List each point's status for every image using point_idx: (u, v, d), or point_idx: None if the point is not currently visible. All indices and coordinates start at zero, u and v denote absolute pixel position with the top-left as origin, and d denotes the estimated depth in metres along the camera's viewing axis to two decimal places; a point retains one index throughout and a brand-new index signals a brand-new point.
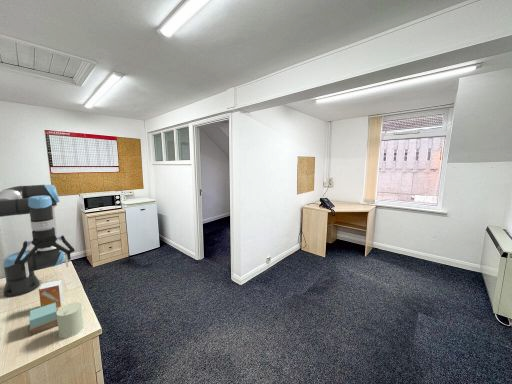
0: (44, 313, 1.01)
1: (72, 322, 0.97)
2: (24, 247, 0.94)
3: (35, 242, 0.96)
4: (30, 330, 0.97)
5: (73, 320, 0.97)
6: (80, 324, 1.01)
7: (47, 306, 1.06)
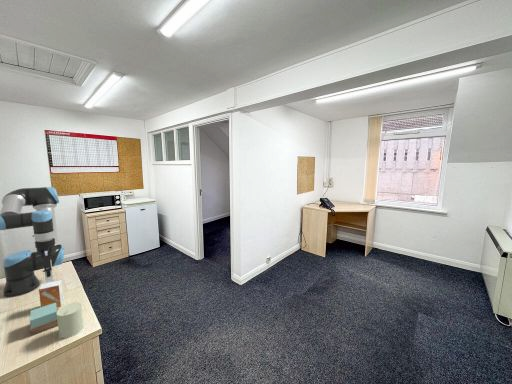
0: (45, 314, 1.01)
1: (72, 322, 0.97)
2: None
3: None
4: (30, 330, 0.97)
5: (73, 320, 0.97)
6: (80, 324, 1.01)
7: (47, 306, 1.06)
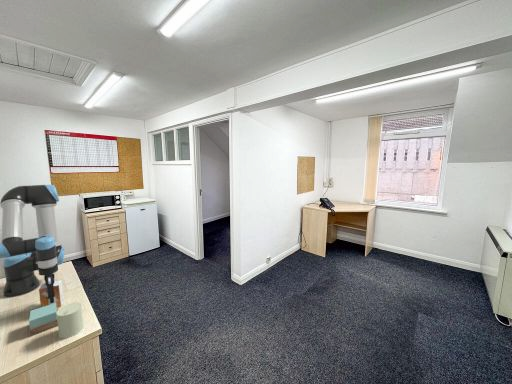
0: (44, 314, 1.01)
1: (72, 322, 0.97)
2: None
3: None
4: (30, 330, 0.97)
5: (73, 320, 0.97)
6: (80, 324, 1.01)
7: (47, 306, 1.06)
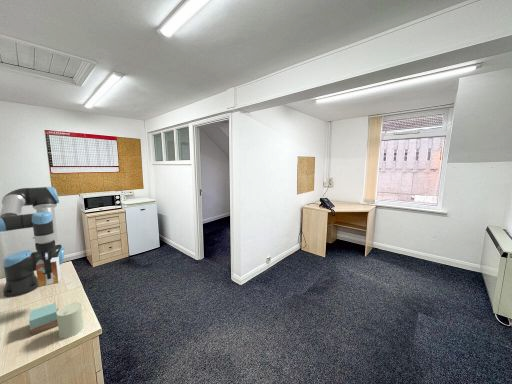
0: (44, 314, 1.01)
1: (72, 322, 0.97)
2: None
3: None
4: (31, 330, 0.97)
5: (73, 320, 0.97)
6: (80, 324, 1.01)
7: (47, 306, 1.06)
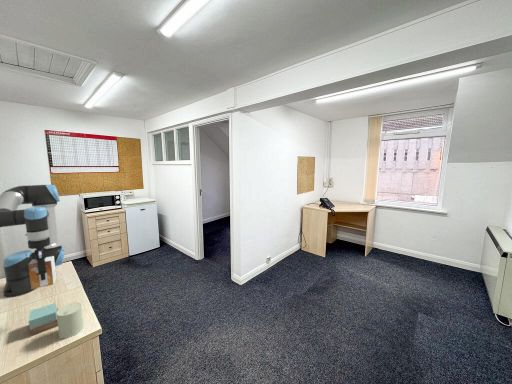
0: (44, 314, 1.00)
1: (72, 322, 0.97)
2: None
3: None
4: (31, 330, 0.97)
5: (73, 320, 0.97)
6: (80, 324, 1.01)
7: (47, 306, 1.06)
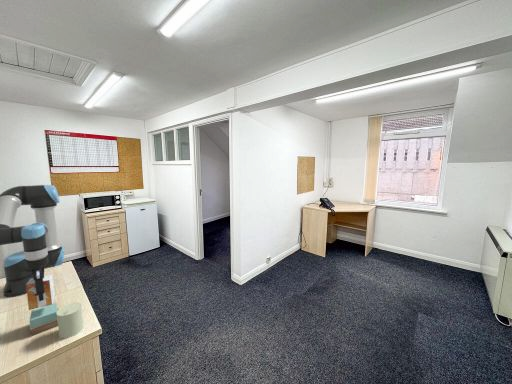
0: (45, 314, 1.01)
1: (72, 322, 0.97)
2: None
3: None
4: (31, 330, 0.97)
5: (73, 320, 0.97)
6: (80, 324, 1.01)
7: (48, 306, 1.06)
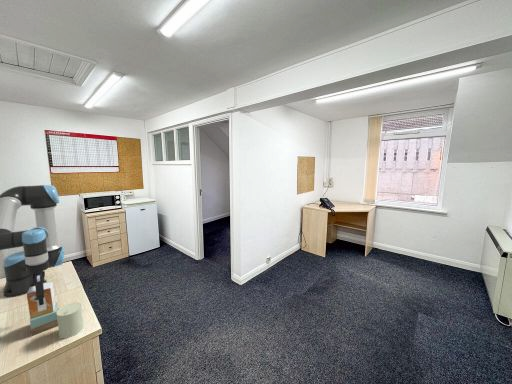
0: (45, 314, 1.01)
1: (72, 322, 0.97)
2: None
3: None
4: (31, 330, 0.97)
5: (73, 320, 0.97)
6: (80, 324, 1.01)
7: None
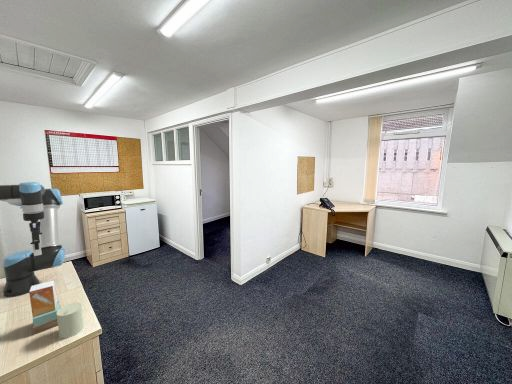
0: (47, 312, 1.02)
1: (72, 322, 0.97)
2: None
3: None
4: (33, 328, 0.97)
5: (73, 320, 0.97)
6: (80, 324, 1.01)
7: None
